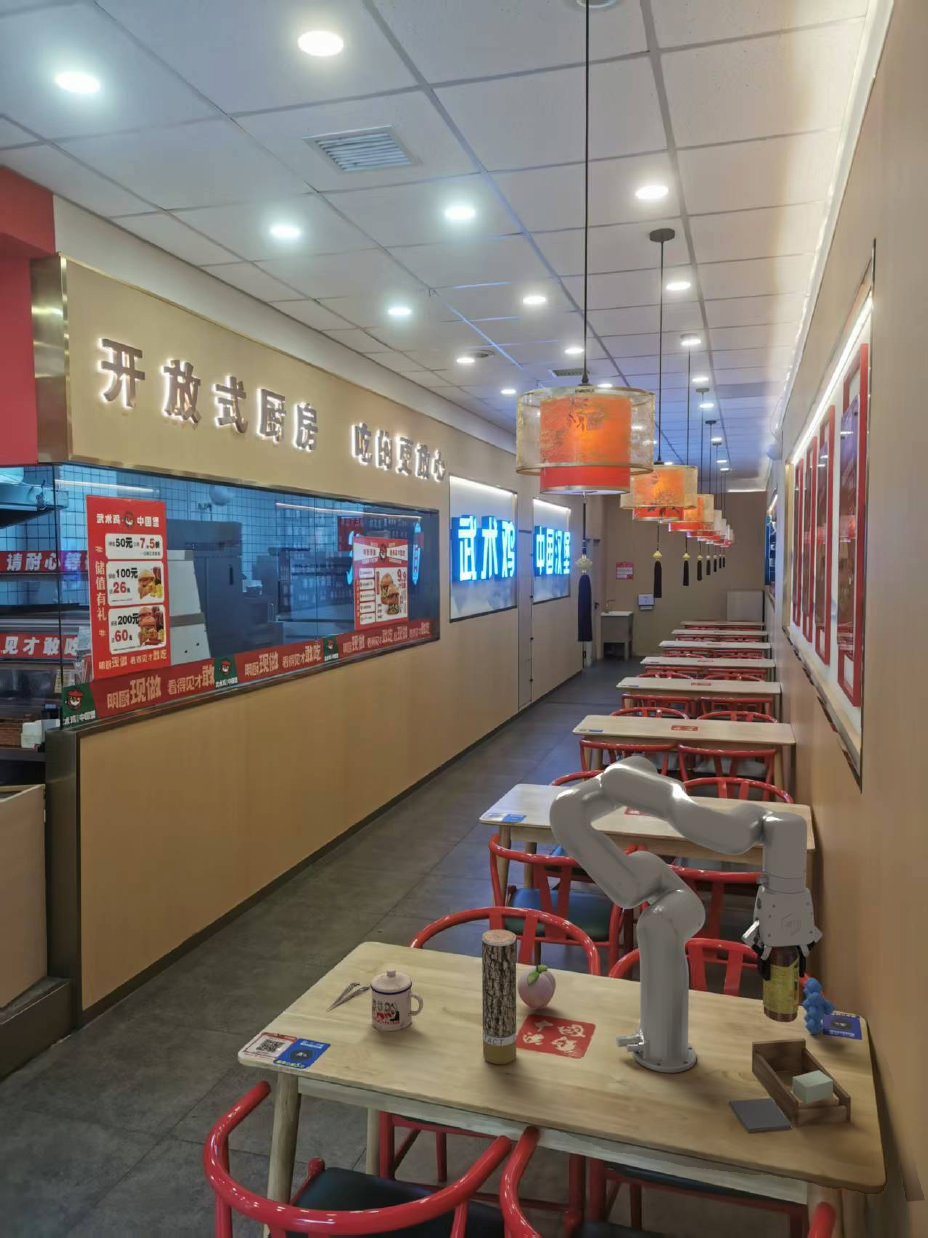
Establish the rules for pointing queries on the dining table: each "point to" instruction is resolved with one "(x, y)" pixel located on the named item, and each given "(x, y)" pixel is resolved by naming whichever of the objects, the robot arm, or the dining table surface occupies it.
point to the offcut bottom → (818, 1102)
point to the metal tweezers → (348, 995)
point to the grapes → (815, 1006)
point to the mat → (759, 1115)
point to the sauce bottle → (782, 984)
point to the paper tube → (499, 996)
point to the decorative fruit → (536, 987)
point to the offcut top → (812, 1087)
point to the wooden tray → (795, 1058)
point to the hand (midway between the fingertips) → (781, 975)
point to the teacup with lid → (393, 1000)
